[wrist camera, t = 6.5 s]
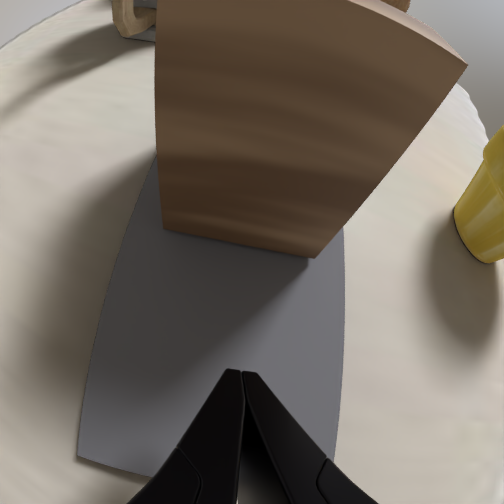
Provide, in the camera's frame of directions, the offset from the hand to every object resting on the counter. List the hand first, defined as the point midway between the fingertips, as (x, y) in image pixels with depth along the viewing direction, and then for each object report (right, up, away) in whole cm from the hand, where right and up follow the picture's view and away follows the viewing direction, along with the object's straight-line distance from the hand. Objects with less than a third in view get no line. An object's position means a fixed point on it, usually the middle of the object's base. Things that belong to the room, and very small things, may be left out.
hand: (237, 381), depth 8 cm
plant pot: (+21, +5, +15) cm, 27 cm away
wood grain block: (+1, +10, +11) cm, 14 cm away
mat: (0, +4, +9) cm, 10 cm away
